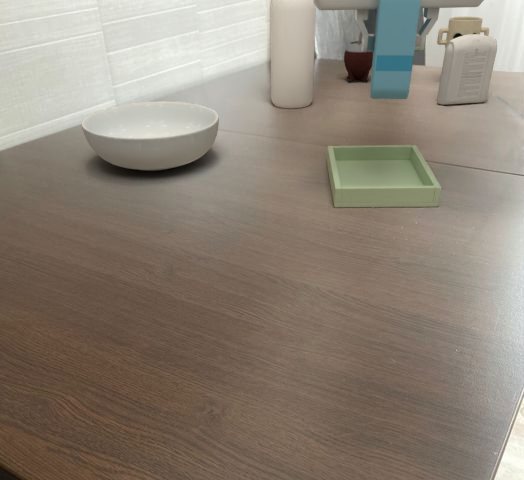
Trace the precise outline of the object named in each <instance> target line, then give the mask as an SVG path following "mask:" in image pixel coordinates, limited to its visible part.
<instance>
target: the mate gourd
mask: <svg viewBox="0 0 524 480" xmlns="http://www.w3.org/2000/svg"><path fill="white" fill-rule="evenodd" d="M363 22H364V24H365V23H366V20H363ZM365 25H366V24H365ZM372 61H373V52H362V34H361V32H360V31H359V38H358V40H355V41H350V42H348V43H347V45H346V46H345V50H344V54H343V62H344V67H345V70H346V72H347V76H346V80H347V83H355V82H361V83H369V79H368V77H369V74H370V72H371V70H372Z"/></svg>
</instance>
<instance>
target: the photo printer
mask: <svg viewBox="0 0 524 480" xmlns="http://www.w3.org/2000/svg"><path fill="white" fill-rule="evenodd" d="M497 51H498V41H497V38H494V37H491V36H490V35H488V36H485V35H484V34H481V33H480V34H469V35H464V36H460V37H457V38H455V39H452V40H450V41H449V42H448V44H447V46H446V49H445V48H444V55H443V60H442V67H441V72H440V77H439V78H440V79H439V84H438V90H437V97H436V98H437V99H436V101H437V103H438V104H439V105H442V106H445V105H446V106H447V105H460V104H463V105H464V104H475V103H485V102H486V100H487V98H488V93H489V90H490V89H489V88H490V85H491V80H492V75H493V72H494V71H493V70H494V66H495V61H496V56H497Z"/></svg>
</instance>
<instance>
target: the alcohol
mask: <svg viewBox="0 0 524 480" xmlns="http://www.w3.org/2000/svg"><path fill="white" fill-rule="evenodd" d="M269 12H270V13H269V25H270V26H269V27H270V28H269V29H270V34H269V35H270V100H271V102H272V104H273V105H274V107H276V108H280V109H301V108H307V107H309V106H310V105H311V104H312V102H313V100H314V86H315V85H314V84H315V83H314V81H315V49H316V19H317V18H316V16H317V13H316V12H317V7H316V6H315V4H314V3H313V0H271V2H270V8H269Z"/></svg>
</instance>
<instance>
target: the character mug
mask: <svg viewBox="0 0 524 480" xmlns="http://www.w3.org/2000/svg"><path fill="white" fill-rule="evenodd" d="M482 25H483V18H482V17H479V16H453V17H449V20H448V25H447V27H440V28H439V29H438V32H437V33H438V34H437V40H436V44H437V45H438V46H444V50H445V49H446V46H447V44H448V42H449V41H450V40H452V39H455V38H457V37H460V36H464V35H469V34H480V35H481V33H483V35H485V36H490V35H489V34H490V27H487V26H482ZM444 34H446V38H445V39H443V35H444Z"/></svg>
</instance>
